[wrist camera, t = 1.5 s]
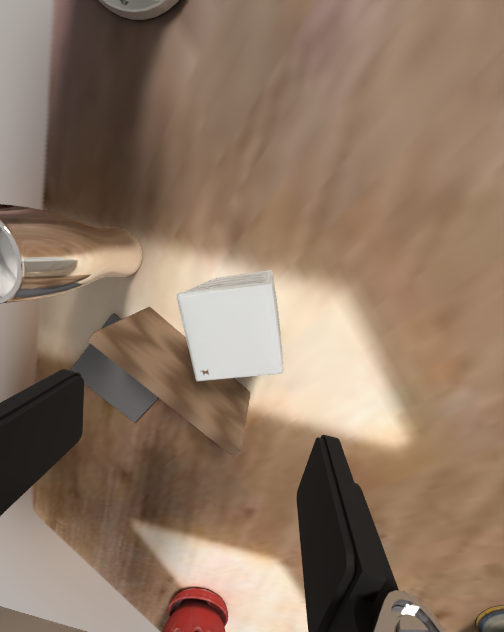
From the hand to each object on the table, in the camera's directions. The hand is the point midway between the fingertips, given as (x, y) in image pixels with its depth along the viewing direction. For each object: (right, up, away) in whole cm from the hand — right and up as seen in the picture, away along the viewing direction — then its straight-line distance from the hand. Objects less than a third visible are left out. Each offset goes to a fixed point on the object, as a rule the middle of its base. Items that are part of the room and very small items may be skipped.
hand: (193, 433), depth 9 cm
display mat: (-16, -3, +25) cm, 30 cm away
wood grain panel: (-5, -1, +23) cm, 24 cm away
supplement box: (+2, +6, +21) cm, 22 cm away
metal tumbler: (-14, +13, +21) cm, 28 cm away
